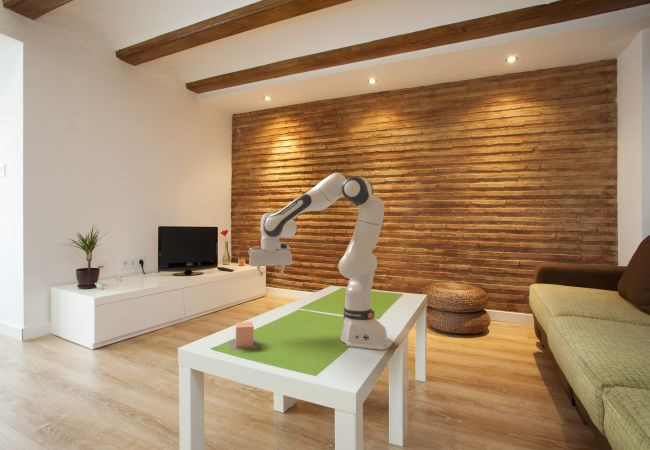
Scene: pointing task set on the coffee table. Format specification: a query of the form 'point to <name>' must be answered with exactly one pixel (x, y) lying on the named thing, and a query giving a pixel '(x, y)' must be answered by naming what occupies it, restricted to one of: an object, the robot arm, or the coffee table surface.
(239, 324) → the peach foam cube
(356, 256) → the robot arm
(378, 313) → the coffee table surface
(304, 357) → the coffee table surface
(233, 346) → the mat
